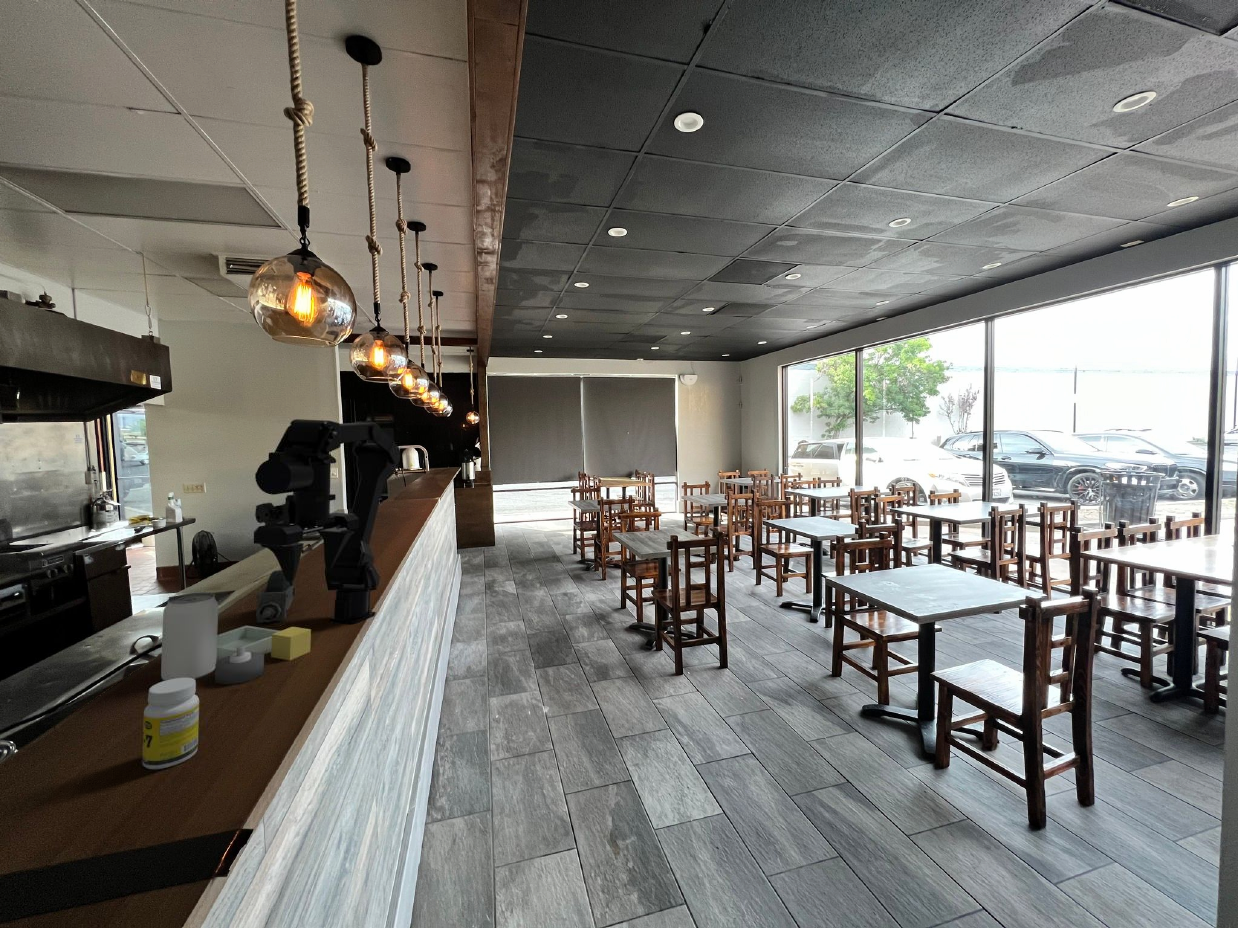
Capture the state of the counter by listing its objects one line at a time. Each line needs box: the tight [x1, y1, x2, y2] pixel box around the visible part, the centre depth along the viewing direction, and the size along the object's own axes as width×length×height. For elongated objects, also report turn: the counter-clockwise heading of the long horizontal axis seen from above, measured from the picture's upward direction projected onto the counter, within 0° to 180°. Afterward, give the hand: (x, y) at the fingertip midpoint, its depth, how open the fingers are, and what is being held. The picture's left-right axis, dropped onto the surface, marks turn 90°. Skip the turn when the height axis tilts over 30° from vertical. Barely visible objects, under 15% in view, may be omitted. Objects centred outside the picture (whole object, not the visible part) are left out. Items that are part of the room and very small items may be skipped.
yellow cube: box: [270, 626, 312, 661], centre depth 86 cm, size 4×4×4 cm
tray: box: [216, 625, 280, 662], centre depth 86 cm, size 9×9×2 cm
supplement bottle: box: [141, 678, 200, 770], centre depth 56 cm, size 5×5×8 cm
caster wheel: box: [255, 570, 297, 624], centre depth 104 cm, size 6×10×15 cm
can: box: [160, 592, 219, 681], centre depth 77 cm, size 6×6×12 cm
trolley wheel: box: [214, 646, 265, 685], centre depth 77 cm, size 6×6×4 cm
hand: (310, 574), depth 90 cm, fingers open, 9 cm apart
